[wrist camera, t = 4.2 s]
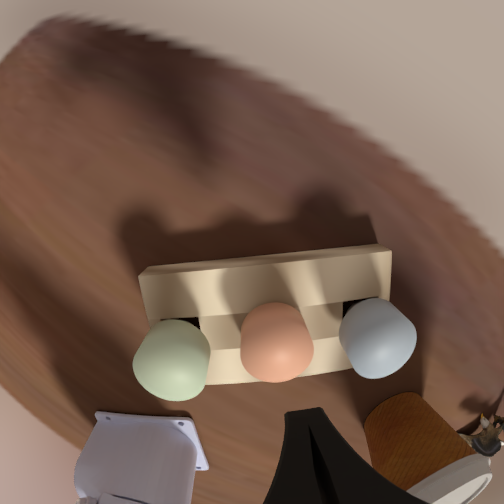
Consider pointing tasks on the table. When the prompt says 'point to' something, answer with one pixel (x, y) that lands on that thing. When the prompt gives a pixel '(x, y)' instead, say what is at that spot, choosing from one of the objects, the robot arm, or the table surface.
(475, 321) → the table surface
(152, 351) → the sage button
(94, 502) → the robot arm
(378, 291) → the button board
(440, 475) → the disposable coffee cup
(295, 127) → the table surface
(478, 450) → the eagle figurine
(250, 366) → the peach round knob
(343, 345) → the slate button
